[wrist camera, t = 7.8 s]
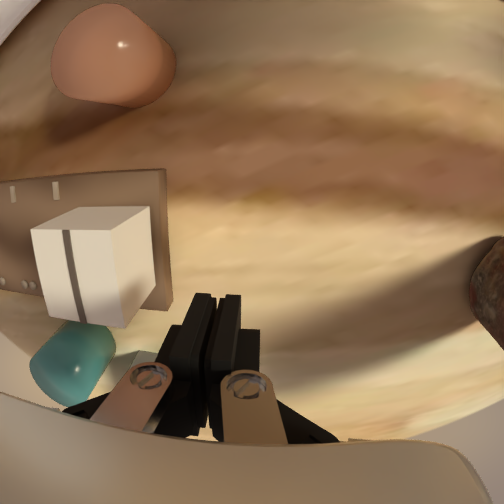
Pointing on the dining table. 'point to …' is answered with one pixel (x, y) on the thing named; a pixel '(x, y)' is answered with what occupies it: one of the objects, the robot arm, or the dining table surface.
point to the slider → (96, 263)
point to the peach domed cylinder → (112, 58)
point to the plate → (13, 15)
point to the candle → (490, 292)
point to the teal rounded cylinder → (73, 361)
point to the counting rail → (71, 197)
